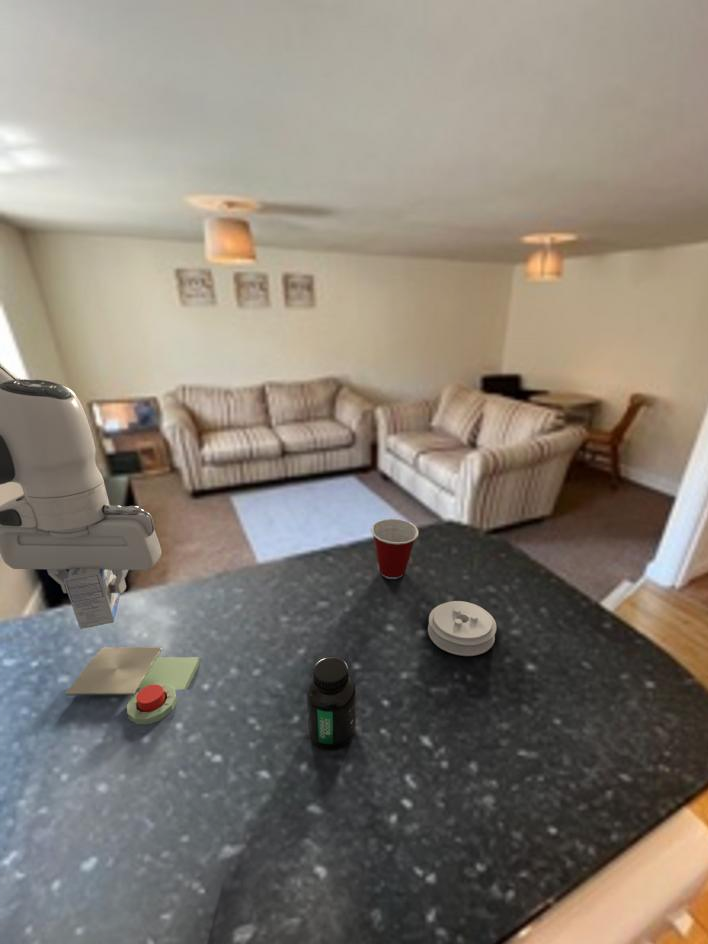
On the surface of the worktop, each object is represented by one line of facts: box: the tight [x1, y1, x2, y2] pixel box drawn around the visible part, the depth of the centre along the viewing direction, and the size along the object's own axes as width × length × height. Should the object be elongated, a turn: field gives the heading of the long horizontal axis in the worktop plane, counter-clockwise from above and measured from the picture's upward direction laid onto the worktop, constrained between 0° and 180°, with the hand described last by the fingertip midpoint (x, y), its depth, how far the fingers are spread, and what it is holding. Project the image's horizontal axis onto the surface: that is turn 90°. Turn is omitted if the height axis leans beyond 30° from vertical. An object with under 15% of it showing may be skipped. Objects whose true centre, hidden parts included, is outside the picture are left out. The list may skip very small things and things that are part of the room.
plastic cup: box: [370, 518, 419, 577], centre depth 103 cm, size 11×11×12 cm
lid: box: [427, 600, 497, 657], centre depth 85 cm, size 13×13×5 cm
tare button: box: [136, 684, 166, 712], centre depth 66 cm, size 4×4×2 cm
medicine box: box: [64, 568, 121, 630], centre depth 66 cm, size 8×4×9 cm, turn 22°
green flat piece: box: [126, 656, 201, 725], centre depth 70 cm, size 16×14×3 cm
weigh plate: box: [65, 646, 163, 696], centre depth 72 cm, size 10×10×1 cm
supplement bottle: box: [306, 656, 357, 751], centre depth 64 cm, size 7×7×12 cm
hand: (95, 591), depth 66 cm, fingers closed on medicine box, 5 cm apart
